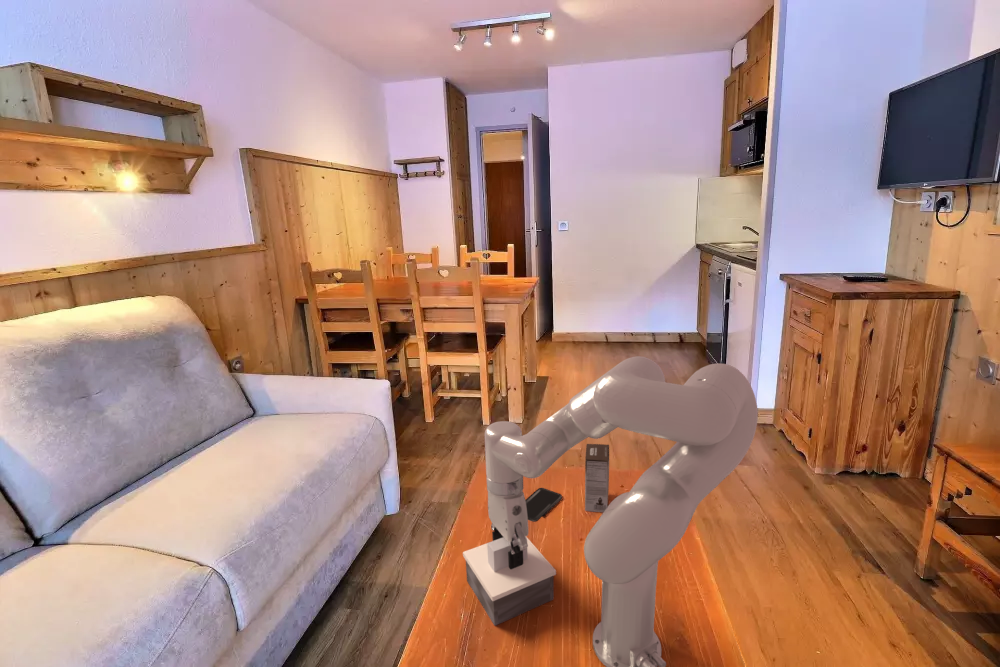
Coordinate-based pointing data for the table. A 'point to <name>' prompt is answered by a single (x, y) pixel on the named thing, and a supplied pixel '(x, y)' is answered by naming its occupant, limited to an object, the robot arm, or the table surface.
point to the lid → (506, 567)
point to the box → (511, 598)
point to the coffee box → (596, 477)
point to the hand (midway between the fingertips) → (507, 555)
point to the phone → (541, 503)
